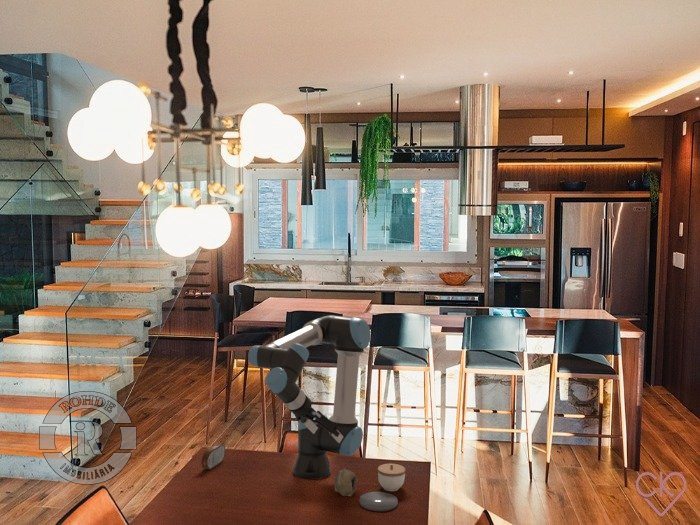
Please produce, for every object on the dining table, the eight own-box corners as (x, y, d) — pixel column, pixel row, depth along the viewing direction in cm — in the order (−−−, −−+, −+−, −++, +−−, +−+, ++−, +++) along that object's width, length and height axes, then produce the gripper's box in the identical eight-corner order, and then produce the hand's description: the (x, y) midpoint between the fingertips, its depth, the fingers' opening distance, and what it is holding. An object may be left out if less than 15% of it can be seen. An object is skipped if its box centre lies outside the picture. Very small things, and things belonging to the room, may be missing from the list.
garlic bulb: (339, 503, 244) (332, 481, 241) (335, 490, 252) (328, 469, 249) (363, 494, 245) (356, 472, 242) (358, 482, 253) (351, 460, 250)
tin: (220, 459, 280) (220, 440, 279) (226, 460, 279) (226, 441, 278) (200, 471, 266) (200, 451, 265) (207, 472, 265) (207, 452, 264)
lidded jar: (403, 495, 247) (403, 470, 246) (375, 492, 249) (375, 468, 248) (406, 484, 257) (407, 460, 257) (379, 481, 260) (380, 458, 259)
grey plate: (351, 501, 240) (351, 498, 240) (378, 491, 249) (378, 488, 249) (378, 514, 230) (378, 511, 230) (405, 503, 239) (405, 500, 239)
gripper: (268, 403, 234) (299, 435, 246) (315, 418, 217) (346, 452, 228) (280, 386, 238) (310, 418, 249) (327, 400, 220) (357, 434, 232)
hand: (327, 435), depth 239 cm, fingers open, 13 cm apart
